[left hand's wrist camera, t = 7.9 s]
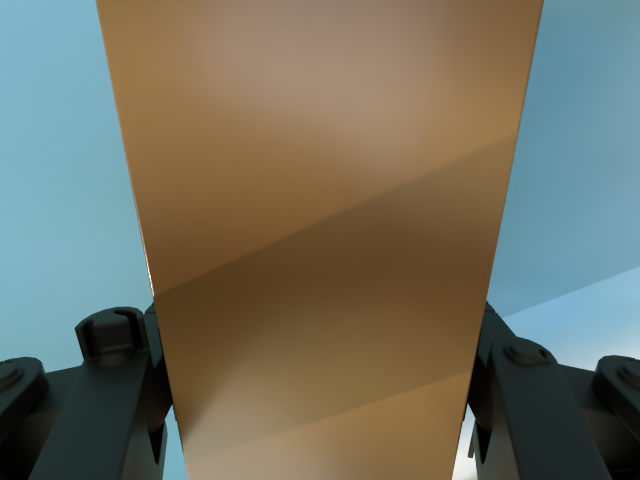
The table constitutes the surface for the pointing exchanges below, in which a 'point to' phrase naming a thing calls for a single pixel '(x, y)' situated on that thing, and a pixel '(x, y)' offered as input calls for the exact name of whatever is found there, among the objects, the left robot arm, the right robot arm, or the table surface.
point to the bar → (319, 219)
